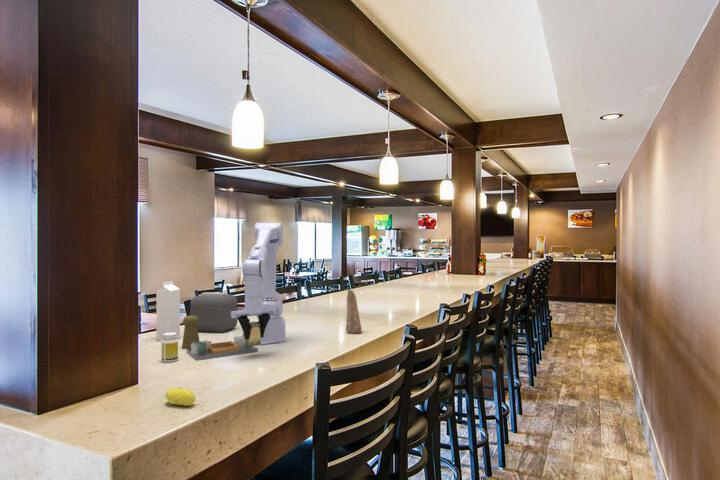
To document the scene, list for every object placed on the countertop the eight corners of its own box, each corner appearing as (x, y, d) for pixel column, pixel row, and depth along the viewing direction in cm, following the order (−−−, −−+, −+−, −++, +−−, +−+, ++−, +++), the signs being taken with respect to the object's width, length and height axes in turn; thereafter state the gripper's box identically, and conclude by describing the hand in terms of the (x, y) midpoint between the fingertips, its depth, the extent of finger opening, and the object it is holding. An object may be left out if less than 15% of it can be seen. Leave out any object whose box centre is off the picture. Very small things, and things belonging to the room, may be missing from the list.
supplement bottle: (181, 359, 146) (181, 332, 146) (170, 363, 141) (170, 335, 141) (169, 358, 147) (169, 331, 147) (158, 361, 143) (158, 334, 143)
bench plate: (244, 344, 166) (244, 331, 166) (257, 351, 156) (257, 338, 156) (185, 352, 155) (185, 338, 155) (195, 360, 144) (195, 345, 144)
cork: (194, 349, 159) (194, 317, 159) (178, 348, 160) (178, 317, 160) (203, 345, 165) (203, 314, 165) (188, 344, 166) (188, 314, 166)
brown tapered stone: (345, 333, 189) (348, 336, 183) (338, 290, 188) (341, 292, 182) (360, 330, 191) (363, 333, 185) (353, 287, 189) (357, 289, 184)
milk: (156, 340, 173) (155, 281, 173) (166, 337, 179) (166, 280, 179) (170, 341, 171) (169, 282, 171) (180, 338, 177) (179, 280, 177)
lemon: (186, 410, 102) (185, 392, 102) (160, 404, 106) (160, 387, 106) (200, 404, 106) (200, 387, 106) (175, 399, 110) (175, 382, 110)
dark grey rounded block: (237, 328, 196) (237, 292, 196) (223, 334, 185) (223, 295, 185) (202, 327, 200) (202, 291, 200) (187, 332, 189) (187, 294, 189)
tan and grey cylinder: (258, 342, 153) (258, 321, 153) (263, 344, 149) (263, 323, 149) (244, 343, 151) (244, 322, 151) (249, 346, 147) (249, 324, 147)
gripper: (235, 299, 143) (236, 343, 143) (279, 295, 151) (279, 337, 151) (228, 296, 149) (228, 339, 149) (271, 293, 157) (271, 333, 157)
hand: (254, 338), depth 150 cm, fingers closed on tan and grey cylinder, 4 cm apart
